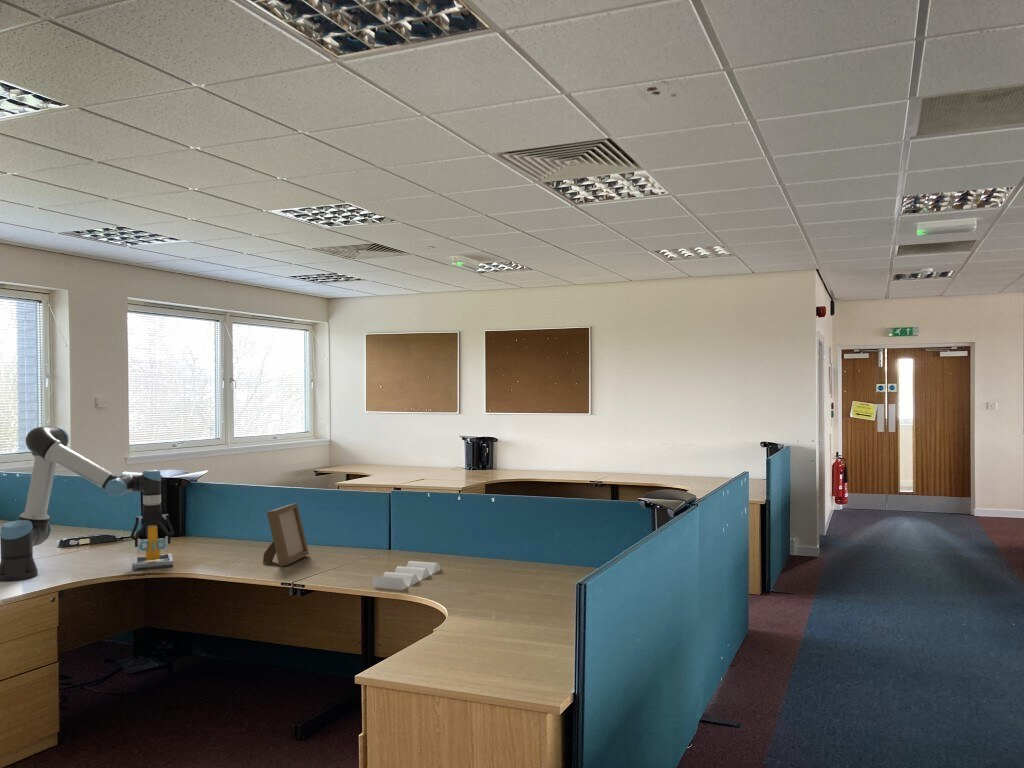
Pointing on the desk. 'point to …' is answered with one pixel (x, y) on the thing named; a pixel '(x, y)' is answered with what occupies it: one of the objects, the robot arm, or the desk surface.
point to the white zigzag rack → (406, 575)
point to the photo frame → (286, 536)
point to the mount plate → (153, 562)
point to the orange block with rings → (152, 544)
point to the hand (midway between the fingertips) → (152, 552)
